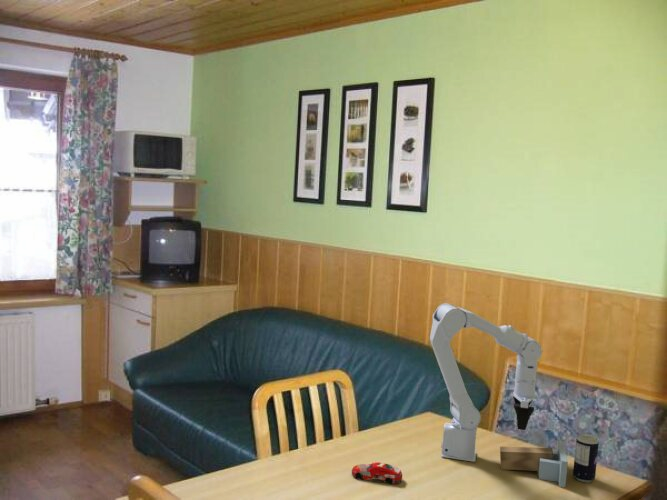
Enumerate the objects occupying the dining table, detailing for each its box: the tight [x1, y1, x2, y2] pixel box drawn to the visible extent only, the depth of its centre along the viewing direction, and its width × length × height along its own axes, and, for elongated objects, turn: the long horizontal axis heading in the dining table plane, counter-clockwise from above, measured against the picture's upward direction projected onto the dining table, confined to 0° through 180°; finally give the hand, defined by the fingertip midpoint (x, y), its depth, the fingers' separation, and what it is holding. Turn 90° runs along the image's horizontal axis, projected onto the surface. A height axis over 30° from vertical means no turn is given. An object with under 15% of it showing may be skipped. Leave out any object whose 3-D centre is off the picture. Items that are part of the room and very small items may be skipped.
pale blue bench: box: [537, 440, 569, 489], centre depth 192 cm, size 6×16×7 cm, turn 167°
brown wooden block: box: [499, 446, 554, 472], centre depth 193 cm, size 14×4×5 cm, turn 77°
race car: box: [351, 461, 403, 485], centre depth 182 cm, size 13×5×4 cm, turn 75°
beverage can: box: [572, 432, 600, 483], centre depth 190 cm, size 6×6×12 cm
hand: (521, 425), depth 203 cm, fingers open, 7 cm apart
